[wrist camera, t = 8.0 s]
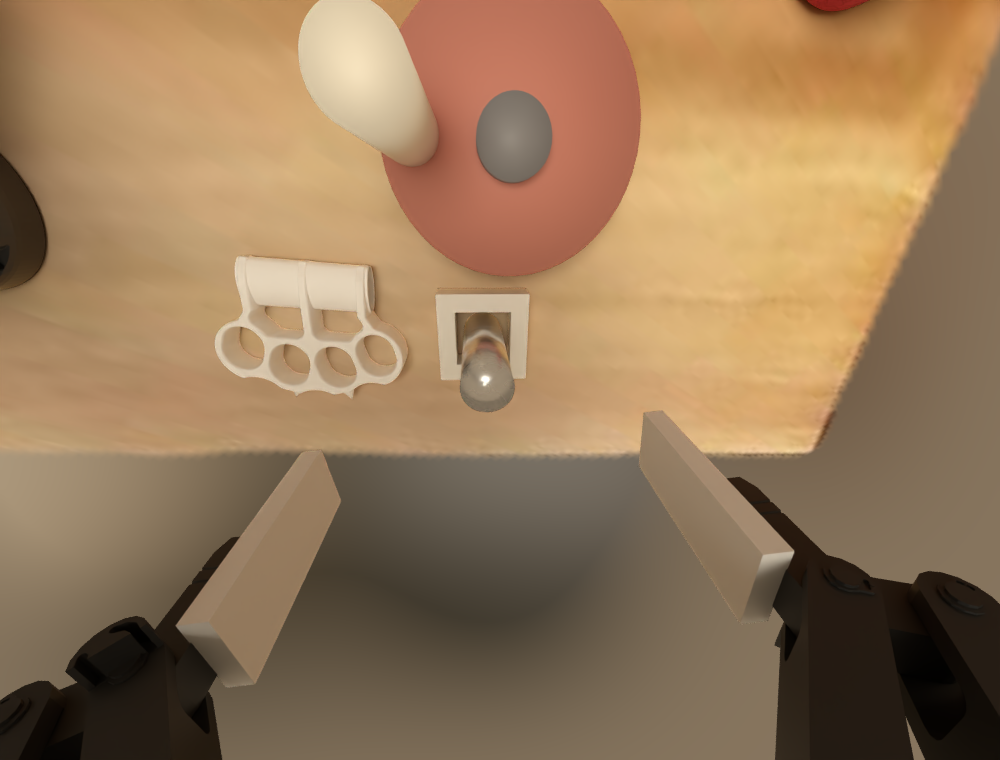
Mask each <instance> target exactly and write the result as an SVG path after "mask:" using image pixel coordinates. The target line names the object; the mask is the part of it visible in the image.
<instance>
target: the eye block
mask: <svg viewBox="0 0 1000 760" xmlns="http://www.w3.org/2000/svg"><path fill="white" fill-rule="evenodd" d="M529 296H530V294H529V293H528V291H527V290H526V288H438V289H437V292H436V294H435V298H436V313H437V328H438V343H439V358H440V373H441V380H460V379H461V365H462V354H458V341H457V318H456V313H467V312H508V340H507V355H508V359H509V363H510V367H511V372H512V376H513V379H526V359H527V338H528V317H529Z"/></svg>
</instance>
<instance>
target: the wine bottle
mask: <svg viewBox="0 0 1000 760" xmlns="http://www.w3.org/2000/svg"><path fill="white" fill-rule="evenodd" d="M807 1H808V2H809V3H810V4H811V5H813V6H815V7H816V8H819V9H821V10H825V11H840V10H845V9H849V8H852V7H854V6H857V5H860V4H862V3H864V2H866V1H868V0H807Z"/></svg>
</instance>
